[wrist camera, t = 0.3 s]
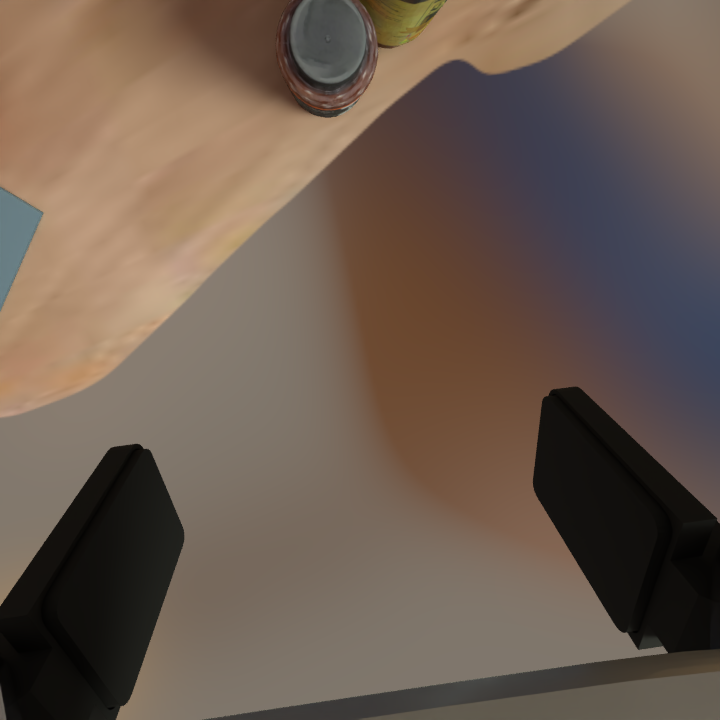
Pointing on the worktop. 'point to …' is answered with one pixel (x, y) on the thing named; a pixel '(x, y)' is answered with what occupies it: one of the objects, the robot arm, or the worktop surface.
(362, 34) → the supplement bottle
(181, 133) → the worktop surface
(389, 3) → the sauce bottle
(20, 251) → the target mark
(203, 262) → the worktop surface
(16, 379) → the worktop surface
